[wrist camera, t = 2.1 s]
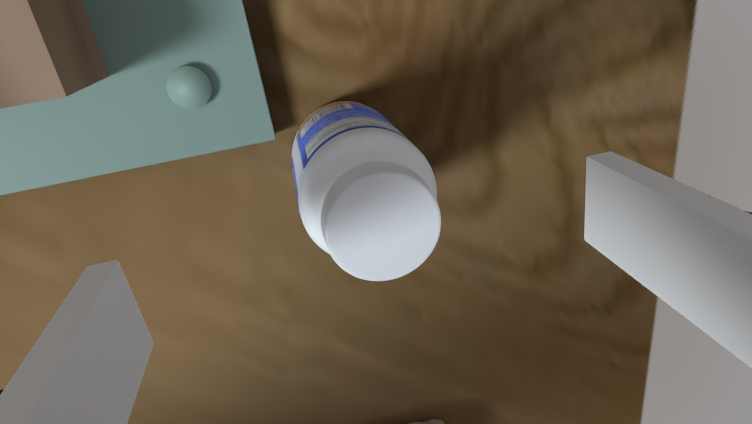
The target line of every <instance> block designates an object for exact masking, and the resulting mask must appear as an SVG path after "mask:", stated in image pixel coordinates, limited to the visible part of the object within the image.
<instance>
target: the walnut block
mask: <svg viewBox="0 0 752 424" xmlns="http://www.w3.org/2000/svg"><path fill="white" fill-rule="evenodd" d="M107 77H109V74H108V71H107V68H106V65H105V63H104V60H103V57H102V54H101V52H100V49H99V46H98V44H97V41H96V38H95V35H94V33H93V30H92V27H91V24H90V22H89V19H88V16H87V14H86V11H85V8H84V5H83V3H82V0H0V109H1V108H7V107H12V106H18V105H23V104H29V103H34V102H40V101H45V100H51V99H56V98H62V97H67V96H69V95H71V94H73V93H75V92H77V91H79V90H82V89H84V88H86V87H88V86H90V85H92V84H94V83H96V82H98V81H100V80H103V79H105V78H107Z"/></svg>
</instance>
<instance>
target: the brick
mask: <svg viewBox="0 0 752 424" xmlns="http://www.w3.org/2000/svg"><path fill="white" fill-rule="evenodd" d="M408 424H444V422H443V421H441V420H440V419H438V420H434V419H432V420H428V421H422V422H418V421H417V422H412V423H408Z"/></svg>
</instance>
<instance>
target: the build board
mask: <svg viewBox="0 0 752 424" xmlns="http://www.w3.org/2000/svg"><path fill="white" fill-rule="evenodd" d="M82 3H83V5H84V8H85V11H86V14H87V16H88V19H89V22H90V24H91V27H92V30H93V33H94V35H95V38H96V41H97V44H98V46H99V49H100V52H101V54H102V57H103V60H104V63H105V65H106V68H107V71H108V74H109V77H107V78H105V79H103V80H100V81H98V82H96V83H94V84H92V85H90V86H88V87H86V88H84V89H82V90H79V91H77V92H75V93H73V94H71V95H69V96H67V97H62V98H56V99H51V100H45V101H40V102H34V103H29V104H23V105H18V106H12V107H7V108H1V109H0V195H4V194H9V193H14V192H19V191H24V190H29V189H34V188H39V187H44V186H49V185H54V184H59V183H64V182H69V181H74V180H78V179H83V178H88V177H93V176H98V175H103V174H108V173H113V172H118V171H123V170H128V169H133V168H138V167H143V166H148V165H152V164H157V163H162V162H167V161H172V160H177V159H182V158H187V157H192V156H197V155H202V154H207V153H212V152H217V151H222V150H226V149H231V148H236V147H241V146H246V145H251V144H256V143H261V142H266V141H271V140H276V139H275V131H274V127H273V123H272V119H271V115H270V111H269V107H268V102H267V98H266V94H265V90H264V86H263V82H262V78H261V74H260V69H259V65H258V61H257V57H256V53H255V49H254V45H253V41H252V36H251V32H250V28H249V24H248V20H247V16H246V12H245V8H244V3H243V0H82Z"/></svg>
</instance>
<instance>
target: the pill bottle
mask: <svg viewBox="0 0 752 424" xmlns="http://www.w3.org/2000/svg"><path fill="white" fill-rule="evenodd" d="M292 168H293V173H294V179H295V185H296V192H297V199H298V206H299V211H300V216H301V219H302V222H303V224H304V227H305V229H306V231H307V232H308V234H309V236H310V237H311V238H312V240H313V241H314V242H315V243H316V244H317V245H318V246H319V247H320V248H321V249H323V250H324V251H326V252H327V253H329V254H330V255H331V256H332V258H333V260H334V261H335V262H336V263H337V264H338V265H339V266H340V267H341V268H342V269H343V270H345V271H346V272H348V273H349V274H351V275H353V276H355V277H357V278H360V279H364V280H369V281H386V280H391V279H396V278H399V277H401V276H404V275H406V274H408V273H410V272H411V271H413V270H415V269H416V268H417V267H419V266H420V265H421V264H422V263H423V262H424V261H425V260H426V259H427V258H428V257H429V255H430V254H431V253H432V251H433V249H434V248H435V246H436V243H437V241H438V238H439V235H440V229H441V214H440V209H439V206H438V203H437V186H436V180H435V177H434V174H433V171H432V168H431V166H430V164H429V163H428V161H427V159H426V158H425V157H424V155H423V154H422V153H421V152H420V151H419V150H418V148H417V147H416V146H415V145H414V144H413V143H412V142H410V141H409V140H408V139H407V138H406V137H405V136H404V135H403V134H402V133H401V132H400V131H398V130H397V129H396V128H395V127H394V126H393V125H392V124H391V123H390V122H389V121H388V120H387V119H386V118H385V117H384V116H383V115H381V114H380V113H379V112H377V111H376V110H374V109H372V108H371V107H369V106H366V105H364V104H361V103H357V102H351V101H341V102H334V103H330V104H328V105H325V106H323V107H321V108H319V109H317V110H316V111H315V112H313V113H312V114H311V115H310V116H309V117H308V118H307V119H306V120H305V121H304V122H303V124H302V125H301V127H300V128H299V130H298V132H297V134H296V136H295V139H294V143H293V148H292Z"/></svg>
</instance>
